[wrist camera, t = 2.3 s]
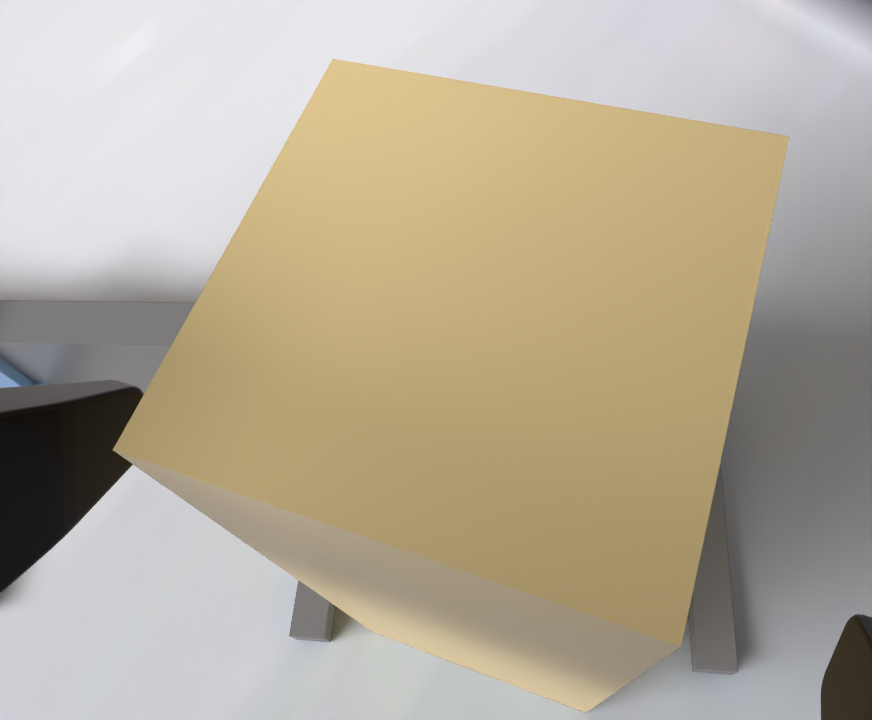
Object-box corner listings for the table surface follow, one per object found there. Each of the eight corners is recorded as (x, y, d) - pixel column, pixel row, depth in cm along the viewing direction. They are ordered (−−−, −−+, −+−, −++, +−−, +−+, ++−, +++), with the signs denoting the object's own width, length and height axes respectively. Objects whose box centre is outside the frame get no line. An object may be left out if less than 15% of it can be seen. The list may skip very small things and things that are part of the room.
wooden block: (586, 712, 16) (681, 645, 5) (371, 631, 17) (113, 449, 7) (641, 495, 18) (788, 136, 7) (445, 436, 19) (332, 58, 9)
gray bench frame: (707, 370, 19) (742, 290, 16) (731, 674, 16) (782, 654, 13) (-216, 347, 23) (-343, 279, 20) (-343, 587, 20) (-521, 555, 17)
